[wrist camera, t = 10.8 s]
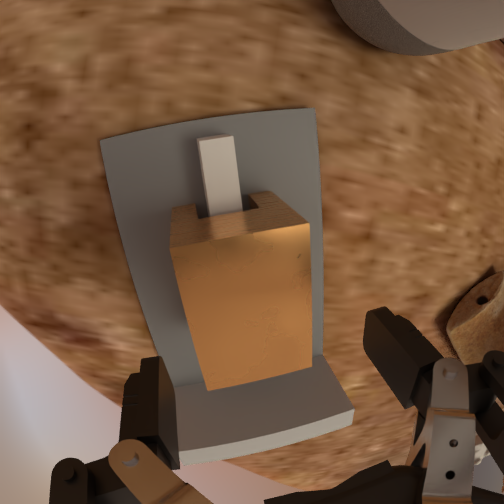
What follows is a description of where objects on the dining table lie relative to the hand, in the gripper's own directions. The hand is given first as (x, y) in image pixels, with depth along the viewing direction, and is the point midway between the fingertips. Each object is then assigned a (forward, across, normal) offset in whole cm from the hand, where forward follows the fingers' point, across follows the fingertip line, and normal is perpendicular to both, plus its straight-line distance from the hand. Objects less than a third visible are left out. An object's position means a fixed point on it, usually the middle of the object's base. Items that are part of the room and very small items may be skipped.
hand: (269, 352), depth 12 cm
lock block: (+9, 0, 0) cm, 9 cm away
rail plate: (+10, 0, +2) cm, 10 cm away
